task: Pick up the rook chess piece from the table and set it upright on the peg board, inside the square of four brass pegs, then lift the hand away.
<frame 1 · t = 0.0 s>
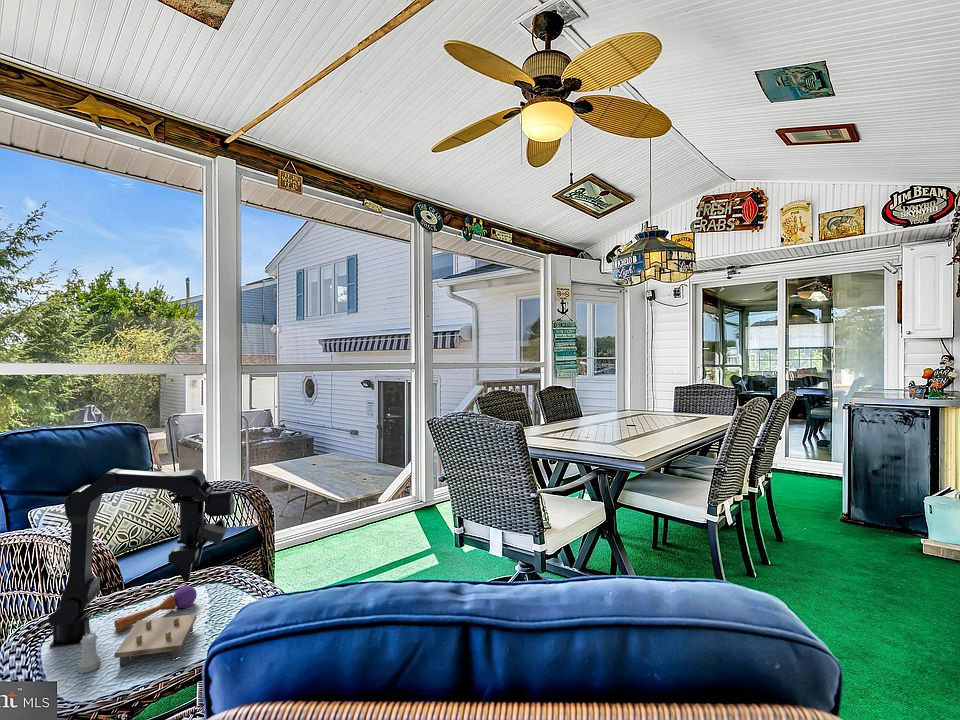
hand: (191, 573, 138), 15 cm above the table, tool pointing down, fingers open, 9 cm apart
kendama: (158, 617, 143), on the table
rook chess piece: (89, 668, 120), on the table
peg board: (158, 647, 128), on the table
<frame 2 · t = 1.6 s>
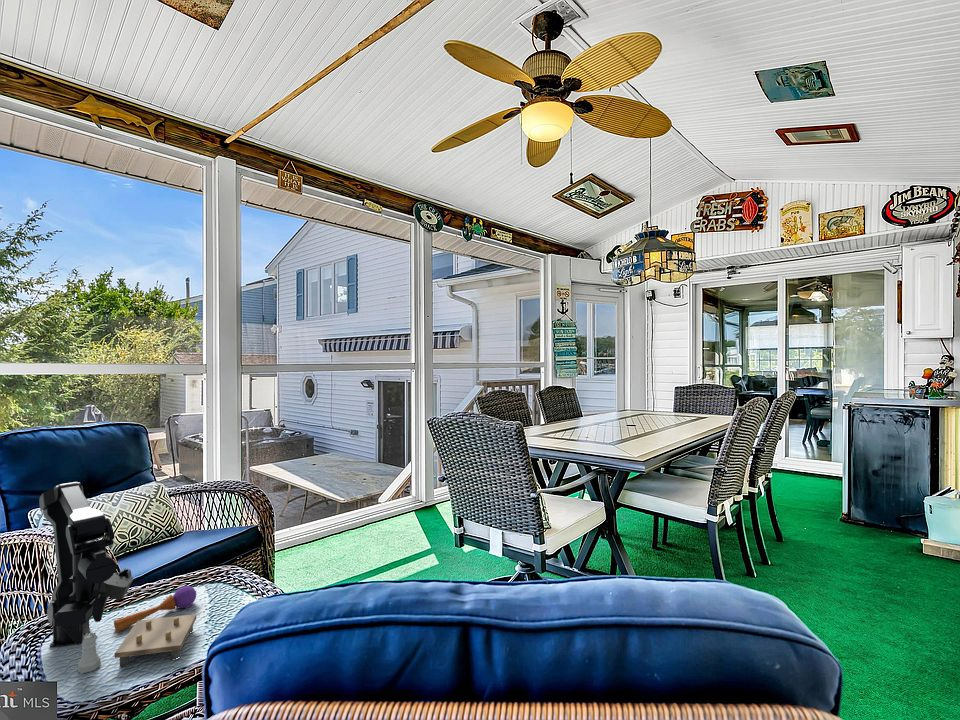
hand: (88, 632, 120), 9 cm above the table, tool pointing down, fingers open, 9 cm apart
nothing on the table moved.
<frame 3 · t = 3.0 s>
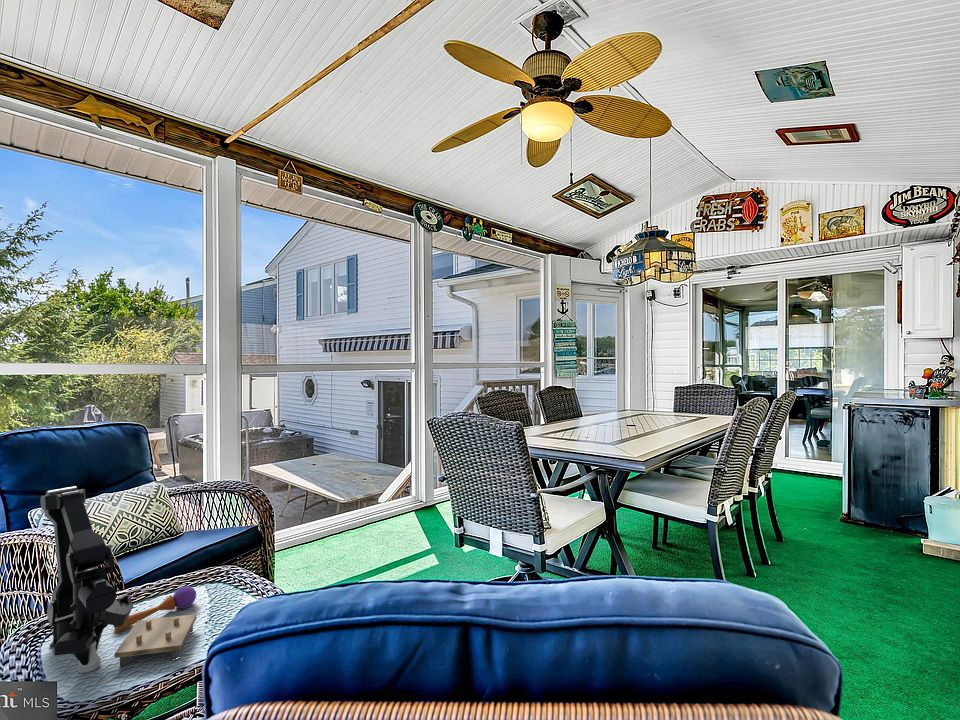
hand: (89, 659, 120), 2 cm above the table, tool pointing down, fingers closed on rook chess piece, 3 cm apart
rook chess piece: (89, 668, 120), on the table, touching gripper
everything else where it was.
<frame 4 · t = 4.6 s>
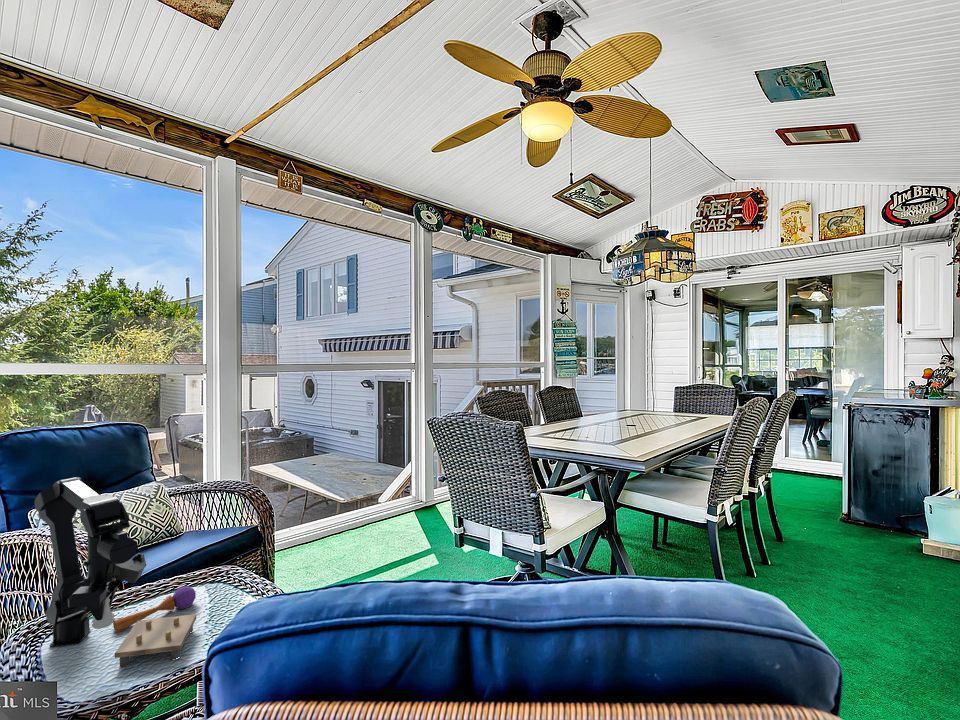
hand: (103, 615, 121), 12 cm above the table, tool pointing down, fingers closed on rook chess piece, 3 cm apart
rook chess piece: (103, 625, 121), point 10 cm above the table, touching gripper
everything else where it was.
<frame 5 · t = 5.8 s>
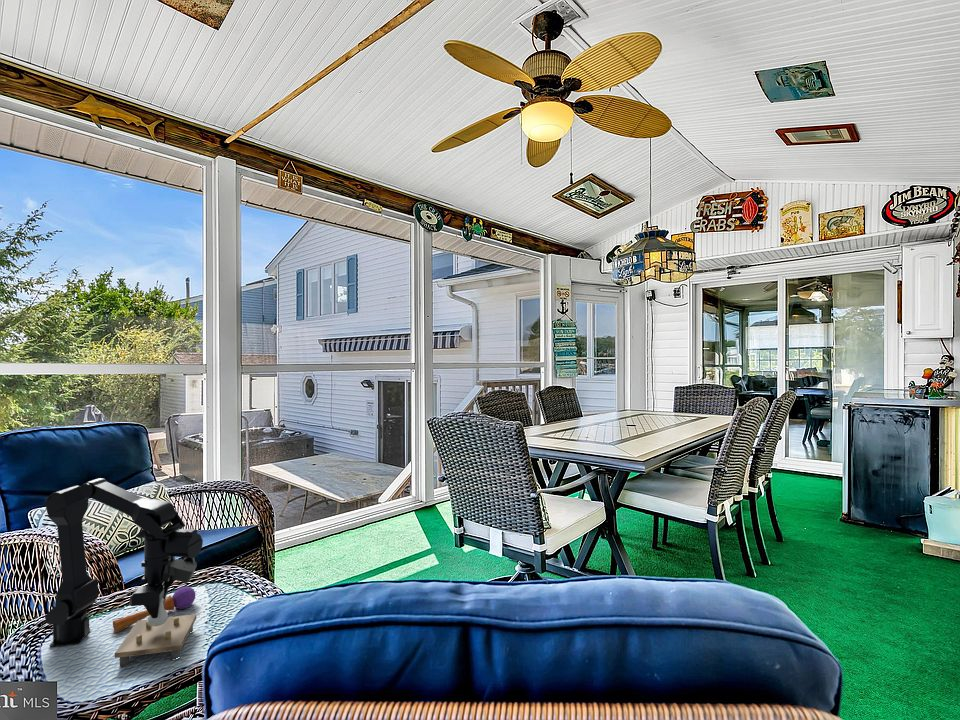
hand: (157, 613, 128), 9 cm above the table, tool pointing down, fingers closed on rook chess piece, 3 cm apart
rook chess piece: (157, 622, 128), point 6 cm above the table, touching gripper
everything else where it was.
when the fingers open (7 cm above the table, at t = 6.7 s): rook chess piece stays where it is, resting on peg board.
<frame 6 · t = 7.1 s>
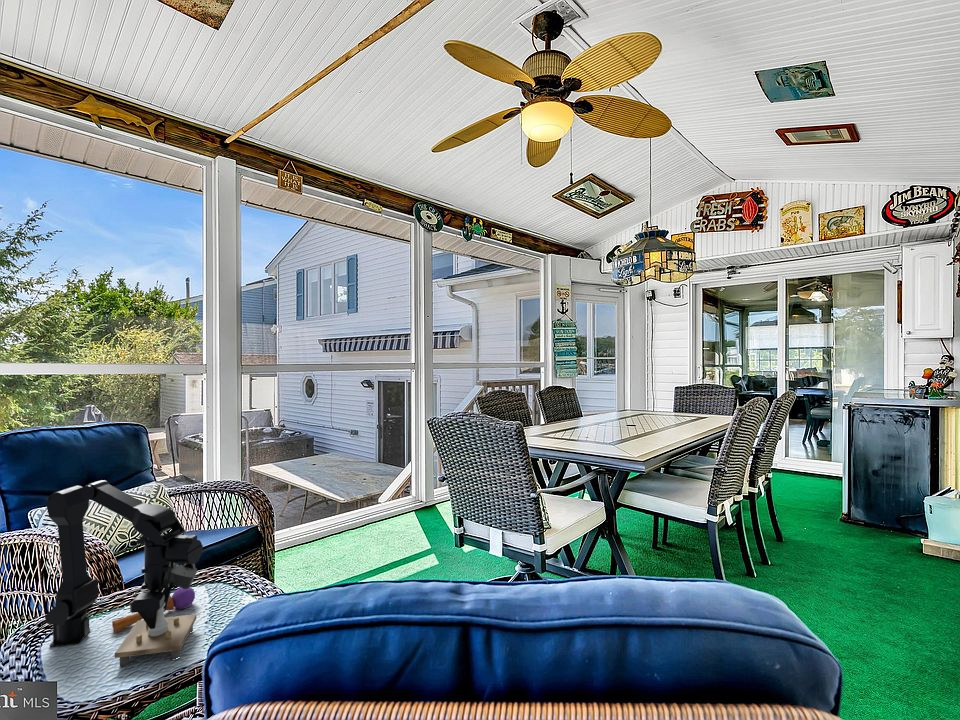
hand: (158, 619, 128), 7 cm above the table, tool pointing down, fingers open, 7 cm apart
rook chess piece: (158, 633, 128), point 4 cm above the table, touching peg board
everything else where it was.
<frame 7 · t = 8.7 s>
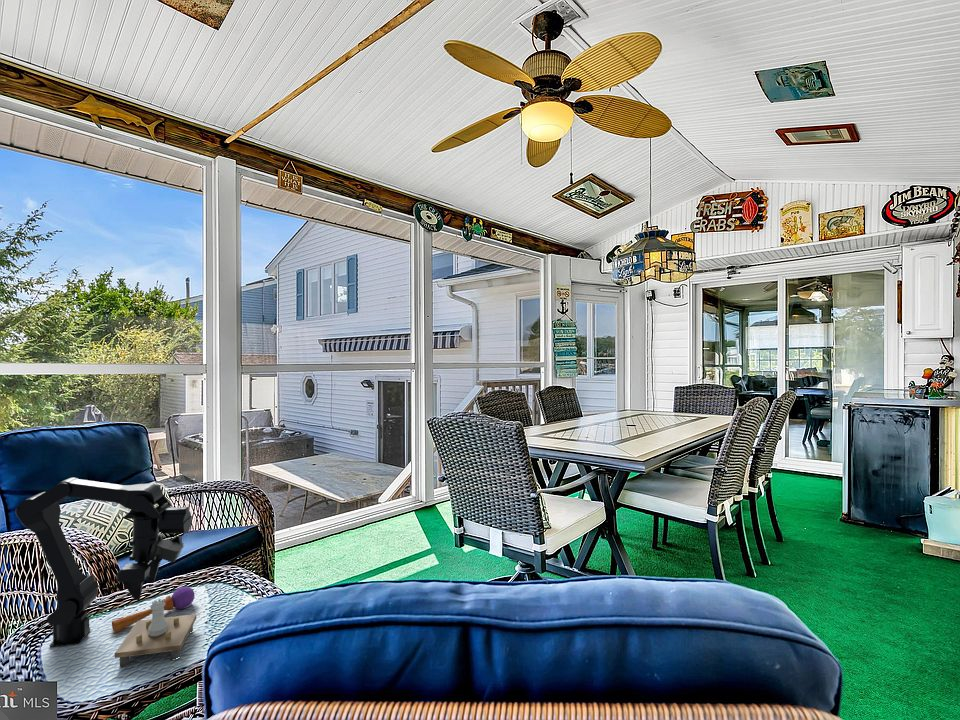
hand: (144, 591, 134), 12 cm above the table, tool pointing down, fingers open, 9 cm apart
nothing on the table moved.
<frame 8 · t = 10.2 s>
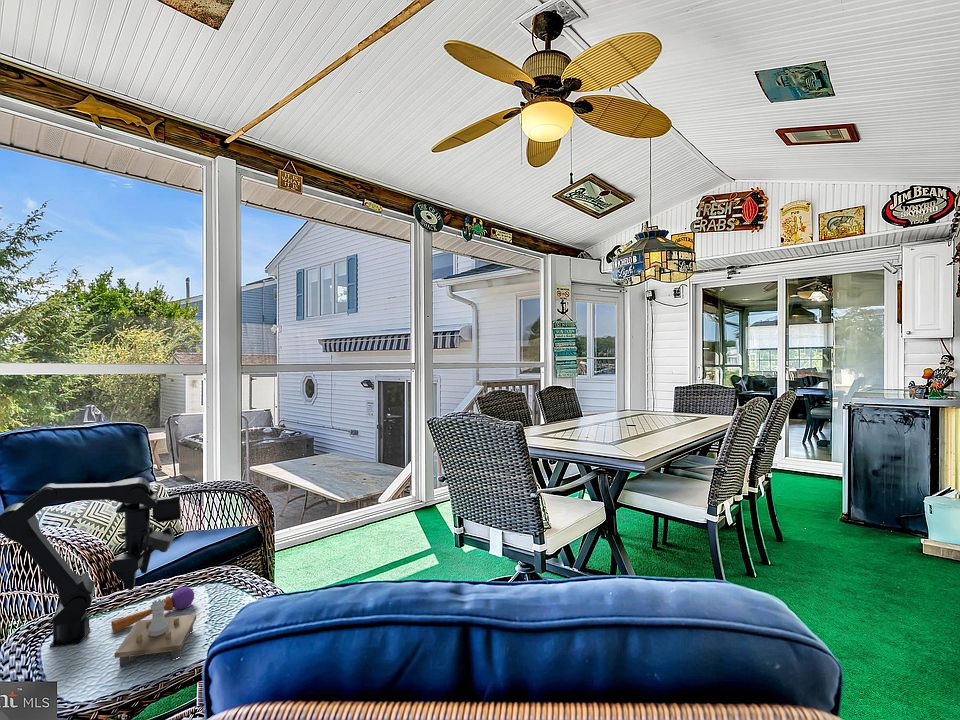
hand: (137, 581, 138), 12 cm above the table, tool pointing down, fingers open, 9 cm apart
nothing on the table moved.
at the end: rook chess piece 0.0 cm off-centre on the peg board, point 3.8 cm above the peg board's base; rook chess piece tilted 0°; the gripper is holding nothing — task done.
